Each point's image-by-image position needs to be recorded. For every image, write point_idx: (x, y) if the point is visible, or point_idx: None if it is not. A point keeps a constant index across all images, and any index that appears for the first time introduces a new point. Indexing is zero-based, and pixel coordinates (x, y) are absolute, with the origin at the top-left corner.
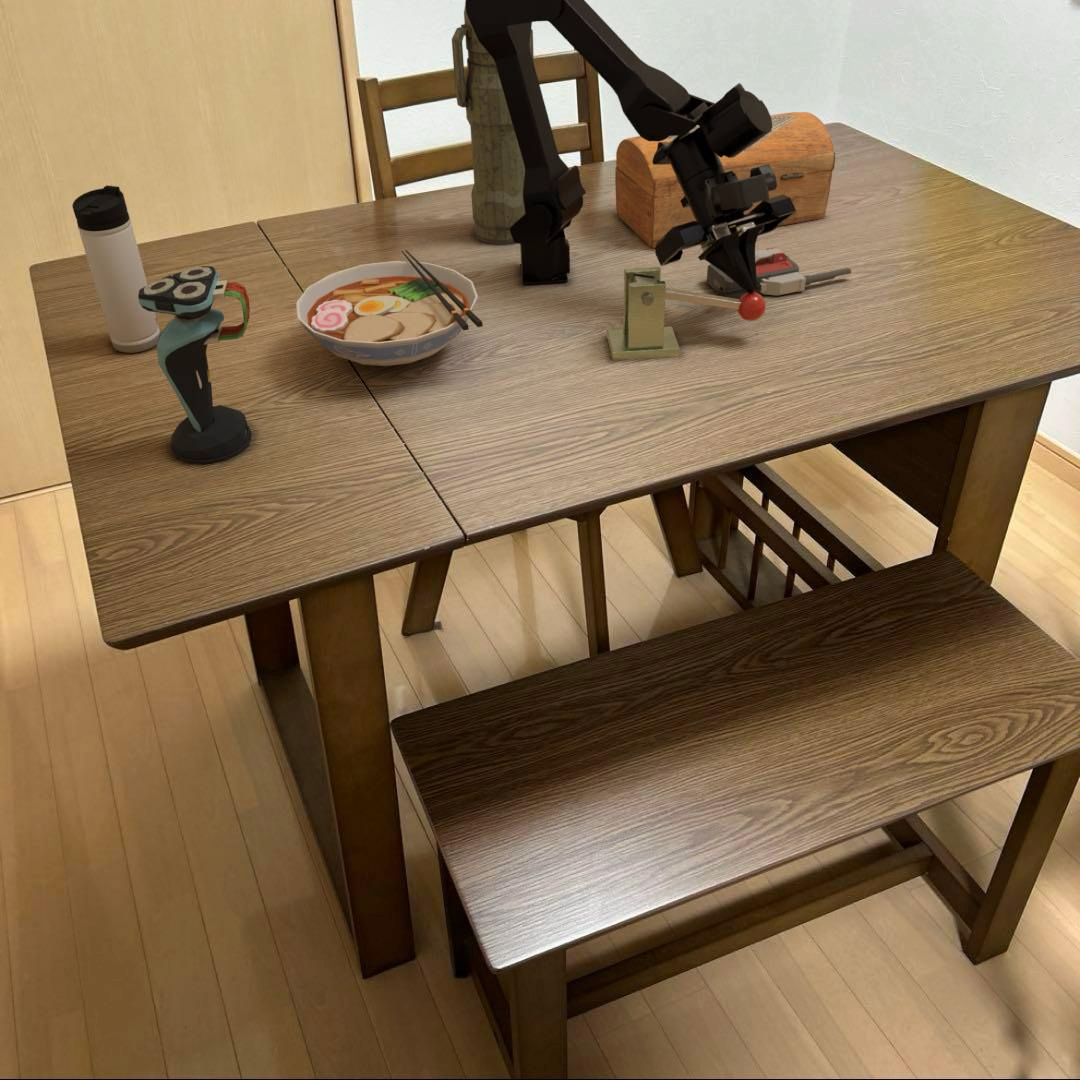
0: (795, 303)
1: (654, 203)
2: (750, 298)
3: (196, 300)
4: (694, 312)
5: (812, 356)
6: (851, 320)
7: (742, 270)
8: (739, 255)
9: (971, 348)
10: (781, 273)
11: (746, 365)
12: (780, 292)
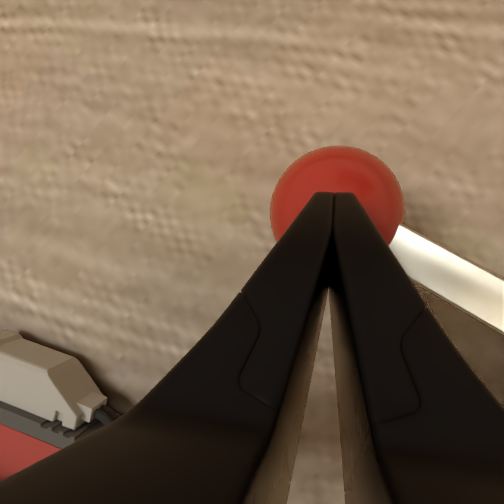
0: (68, 302)
1: None
2: (370, 187)
3: None
4: (331, 465)
5: (246, 31)
6: (24, 135)
7: (400, 275)
8: (394, 383)
9: None
10: (7, 407)
11: (455, 99)
12: (67, 358)
